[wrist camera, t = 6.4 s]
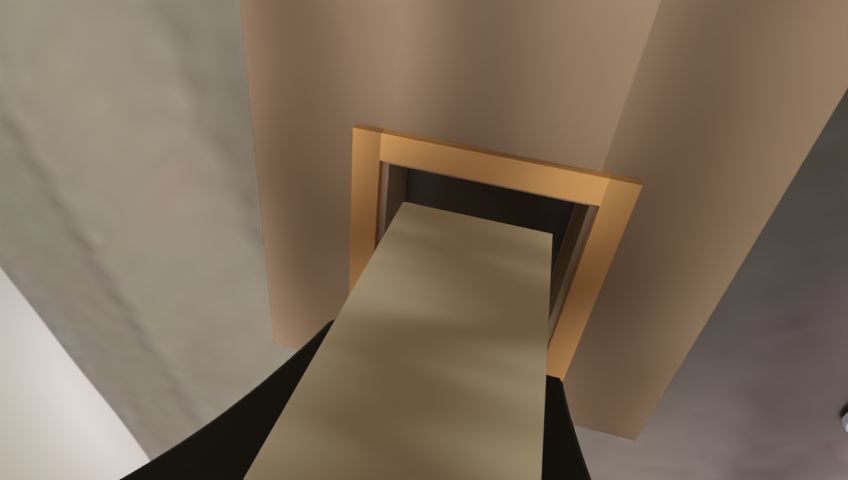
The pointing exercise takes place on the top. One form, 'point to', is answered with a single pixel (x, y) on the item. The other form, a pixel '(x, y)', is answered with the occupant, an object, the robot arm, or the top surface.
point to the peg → (427, 361)
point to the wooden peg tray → (544, 153)
